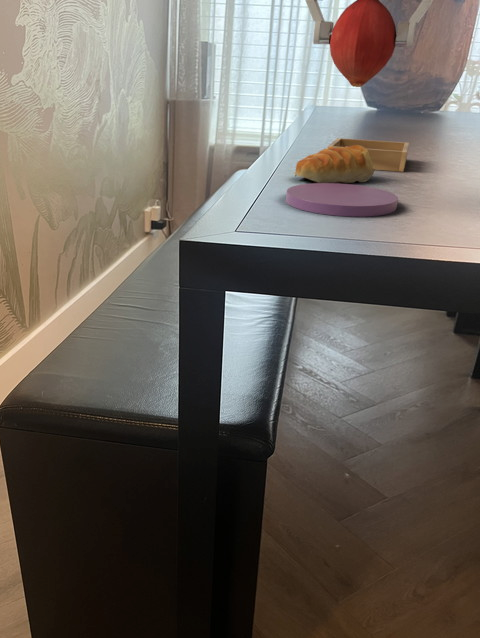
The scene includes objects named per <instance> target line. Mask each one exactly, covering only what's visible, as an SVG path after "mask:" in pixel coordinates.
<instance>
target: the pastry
mask: <svg viewBox="0 0 480 638" xmlns="http://www.w3.org/2000/svg"><path fill="white" fill-rule="evenodd" d="M374 173H375V170H374V167H373V165H372V160H371V158H370V156H369V151H368V150H367V149H366V148H364V147H363V146H360V145H354V146H351V147H347V146H346V147H329V148H328V147H326V148H324V149H321V150H319V151H317V152H316V153H313V154H308V155H307V156H306V157H304V158H302V159H300V160H299V161H297V162H296V165H295V172H294V177H295V178H296V177H297V176H298V177H301V178H303V179H308V180H310V181H313V182H315V183H338V184H339V183H343V184H353V183H355V182H358V183H365V182H367V181H369V180H370V178H371V177H372V176H373V175H374Z"/></svg>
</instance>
